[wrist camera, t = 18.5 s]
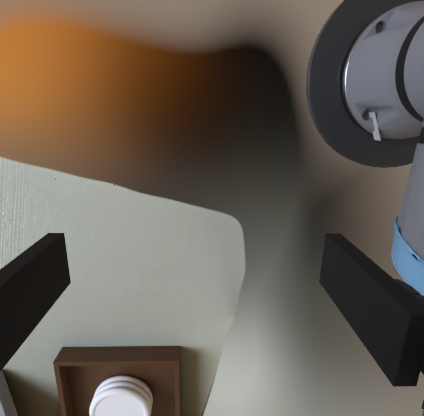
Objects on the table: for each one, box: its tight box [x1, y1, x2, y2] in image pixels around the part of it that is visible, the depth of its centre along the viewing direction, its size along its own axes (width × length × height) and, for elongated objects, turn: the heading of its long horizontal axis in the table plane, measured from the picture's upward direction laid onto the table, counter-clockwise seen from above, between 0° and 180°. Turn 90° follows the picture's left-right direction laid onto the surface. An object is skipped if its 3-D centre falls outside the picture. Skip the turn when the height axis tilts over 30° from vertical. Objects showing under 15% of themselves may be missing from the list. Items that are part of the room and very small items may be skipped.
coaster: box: [89, 376, 153, 416], centre depth 52 cm, size 10×10×4 cm
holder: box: [53, 346, 182, 416], centre depth 52 cm, size 20×20×3 cm
